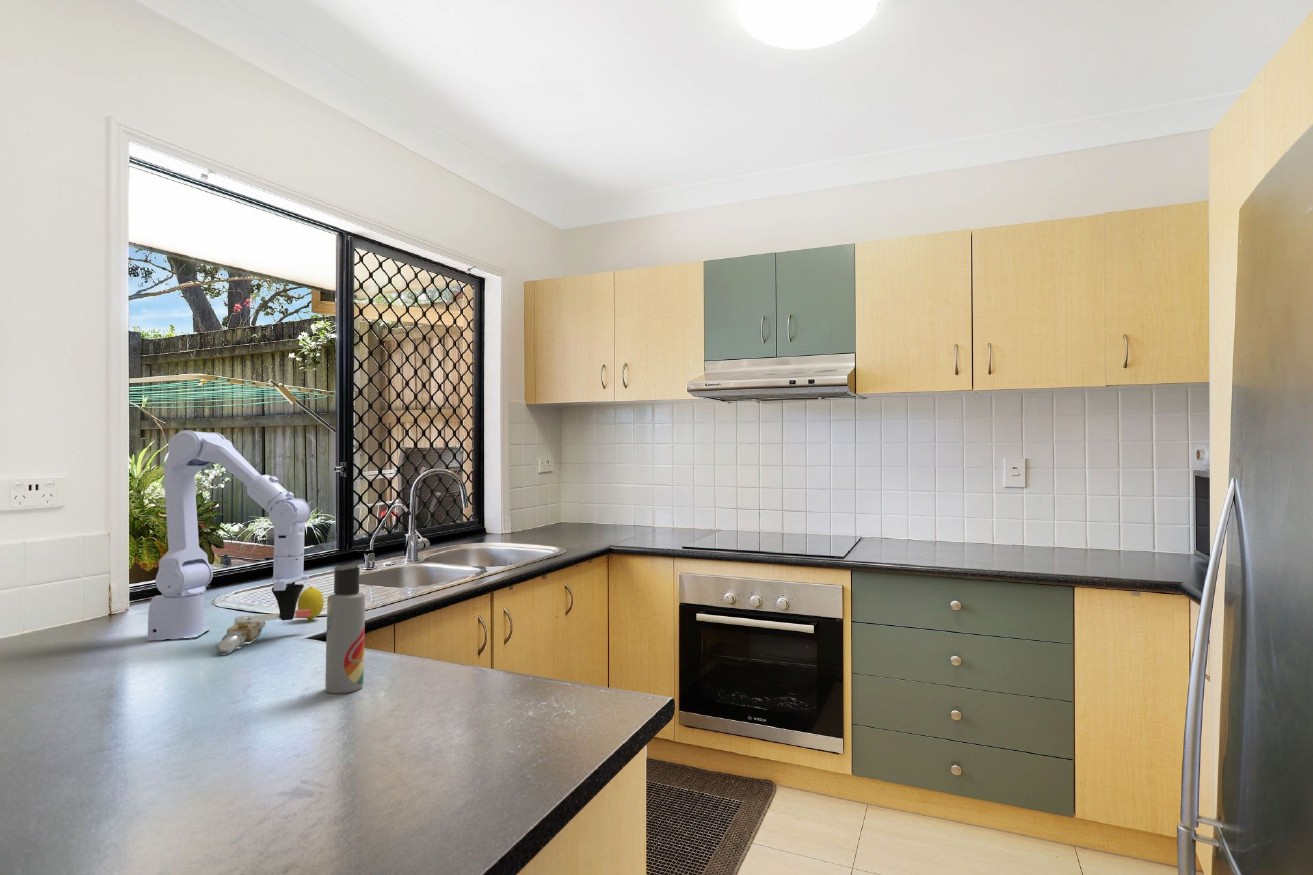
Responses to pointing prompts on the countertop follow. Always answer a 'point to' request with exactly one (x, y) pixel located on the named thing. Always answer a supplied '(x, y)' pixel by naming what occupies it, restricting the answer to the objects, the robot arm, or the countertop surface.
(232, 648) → the valve
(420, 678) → the countertop surface
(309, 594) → the lemon
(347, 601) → the lotion bottle
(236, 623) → the lever
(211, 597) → the countertop surface
